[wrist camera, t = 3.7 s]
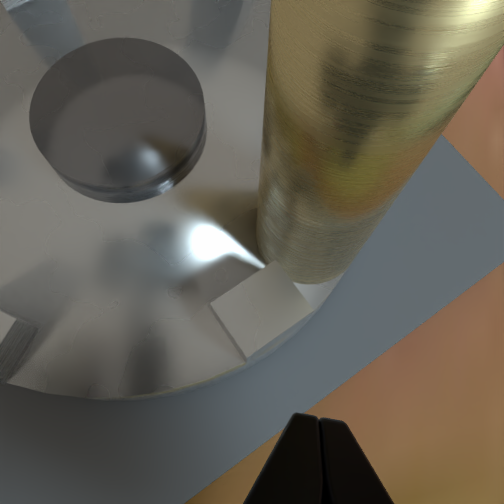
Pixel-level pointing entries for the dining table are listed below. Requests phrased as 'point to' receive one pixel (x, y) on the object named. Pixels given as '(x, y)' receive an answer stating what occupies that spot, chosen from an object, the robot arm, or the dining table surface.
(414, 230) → the housing plate
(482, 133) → the dining table surface
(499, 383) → the dining table surface
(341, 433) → the robot arm
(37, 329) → the metal disc with post
